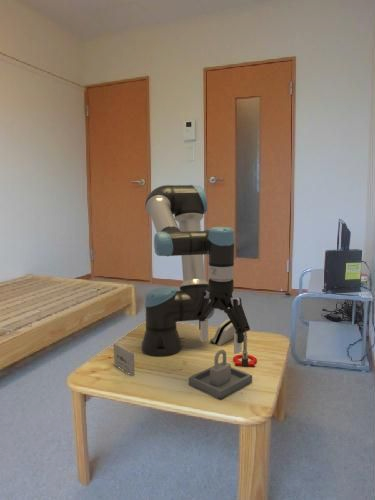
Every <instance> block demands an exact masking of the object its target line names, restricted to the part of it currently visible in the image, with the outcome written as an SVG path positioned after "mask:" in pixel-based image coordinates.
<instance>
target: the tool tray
mask: <svg viewBox="0 0 375 500" xmlns="http://www.w3.org/2000/svg"><path fill="white" fill-rule="evenodd" d="M212 367H213V366H211V367H208V368H207V369H204V370H202V371H200V372H198V373H195V374H193V375H191V376H189V377H188V386H190V387H192V388H194V389H197V390H199V391H200V392H203V393H205V394H207V395H209V396H210V397H211V396H212V397H213V398H215V399H218V400H220V401H222V400H223V399H226V398H227V397H229V396H231V395H232V394H235V393H236V392H238V391H240V390H241V389H243V388H245V387H247V386H249V385H251V384H252V383H253V374H250V373H247V372H245V371H242V370H240V369H237V368H235V367H233V366H231V378H230V379H229V380H228V381H227V382H226V383H224V384H221V385H219V386H216V385H213V384H210V368H212Z"/></svg>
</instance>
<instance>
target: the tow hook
mask: <svg viewBox="0 0 375 500" xmlns="http://www.w3.org/2000/svg"><path fill="white" fill-rule="evenodd" d="M247 332H248V331H246V332H244V341H243V343H242V345H243V346H242V354H235V355H233V357H232V361H233V362H234V366H238V367H250V368H251V367H255V366H256V365H255V364H257V362H258V358H257V357H256V356H253V355H251V354H248V335H247ZM240 359H241V360H240ZM249 359H250V361H249Z"/></svg>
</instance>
